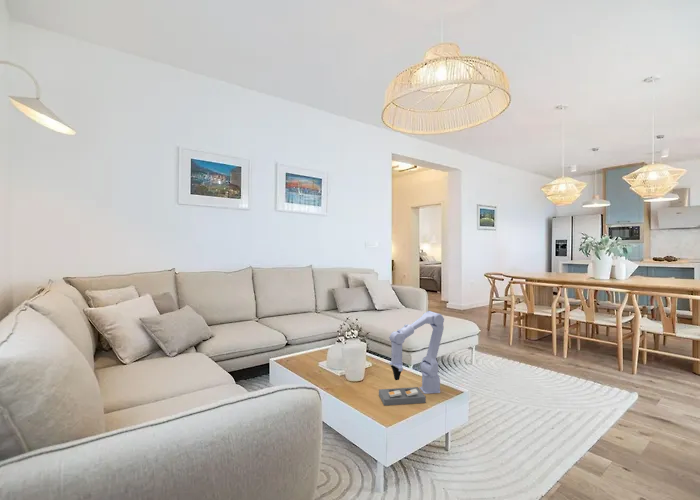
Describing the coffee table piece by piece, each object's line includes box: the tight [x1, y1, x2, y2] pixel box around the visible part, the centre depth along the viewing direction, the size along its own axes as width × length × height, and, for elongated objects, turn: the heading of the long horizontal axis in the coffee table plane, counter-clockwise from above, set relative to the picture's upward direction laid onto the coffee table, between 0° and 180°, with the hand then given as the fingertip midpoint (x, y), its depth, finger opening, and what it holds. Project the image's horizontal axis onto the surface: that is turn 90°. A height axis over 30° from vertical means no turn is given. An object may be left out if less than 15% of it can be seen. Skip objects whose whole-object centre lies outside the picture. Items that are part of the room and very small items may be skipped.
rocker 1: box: [388, 390, 402, 397], centre depth 176 cm, size 6×4×1 cm, turn 98°
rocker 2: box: [405, 389, 418, 397], centre depth 177 cm, size 6×4×1 cm, turn 98°
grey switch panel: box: [378, 386, 427, 406], centre depth 180 cm, size 22×12×3 cm, turn 98°
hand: (396, 379), depth 182 cm, fingers closed
